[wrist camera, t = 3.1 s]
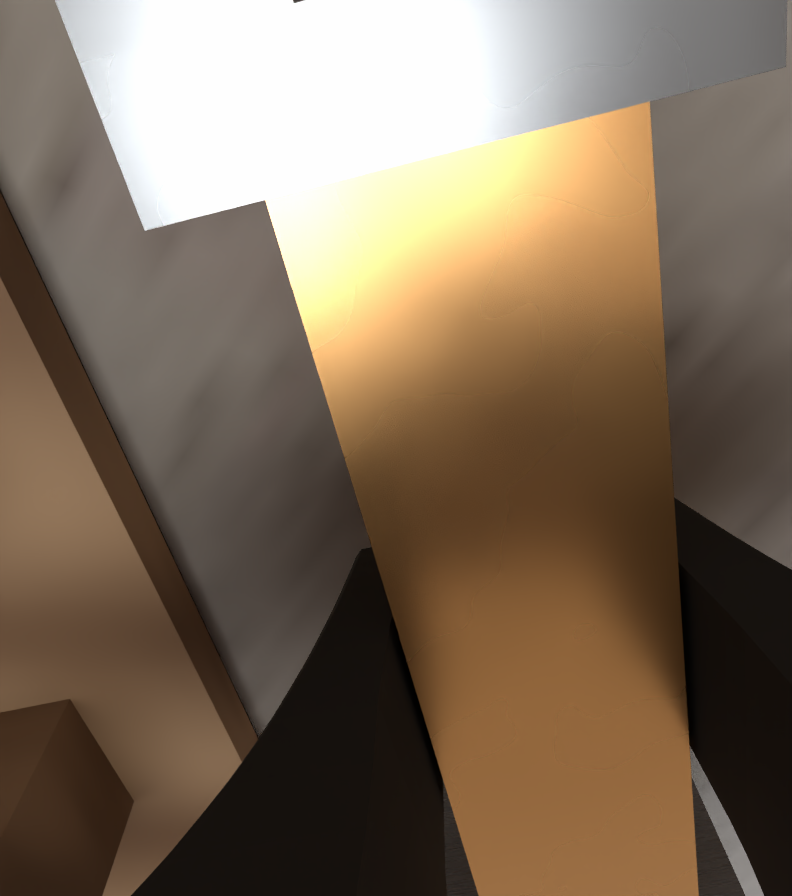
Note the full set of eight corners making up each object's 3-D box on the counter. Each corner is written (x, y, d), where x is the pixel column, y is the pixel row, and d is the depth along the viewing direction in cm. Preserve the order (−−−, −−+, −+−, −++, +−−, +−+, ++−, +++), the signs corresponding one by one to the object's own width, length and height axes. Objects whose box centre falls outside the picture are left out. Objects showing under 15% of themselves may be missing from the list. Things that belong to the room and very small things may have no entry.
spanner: (680, 847, 16) (767, 1067, 12) (462, 883, 16) (486, 1105, 13) (585, -347, 7) (801, -784, 3) (115, -201, 7) (-125, -460, 4)
